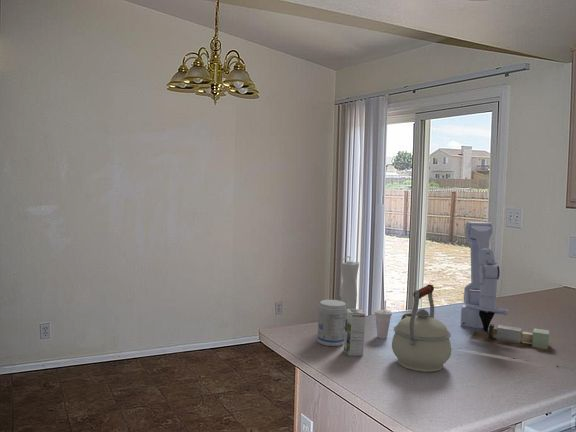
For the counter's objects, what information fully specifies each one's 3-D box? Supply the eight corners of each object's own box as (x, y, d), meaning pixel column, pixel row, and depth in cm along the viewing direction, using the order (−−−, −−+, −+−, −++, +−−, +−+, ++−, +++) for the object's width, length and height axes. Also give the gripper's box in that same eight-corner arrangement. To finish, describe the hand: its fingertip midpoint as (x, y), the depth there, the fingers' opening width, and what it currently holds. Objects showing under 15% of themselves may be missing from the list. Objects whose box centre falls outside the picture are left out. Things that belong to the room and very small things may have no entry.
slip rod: (488, 338, 187) (489, 326, 187) (490, 335, 191) (490, 324, 191) (536, 346, 180) (537, 334, 179) (537, 343, 183) (537, 331, 183)
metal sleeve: (496, 340, 186) (497, 327, 186) (497, 337, 190) (498, 324, 190) (520, 344, 182) (520, 331, 182) (521, 341, 186) (521, 328, 186)
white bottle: (335, 322, 206) (338, 255, 205) (355, 323, 206) (358, 256, 204) (337, 328, 198) (340, 258, 196) (357, 329, 197) (360, 259, 196)
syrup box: (343, 350, 171) (344, 308, 170) (360, 350, 171) (361, 308, 171) (346, 356, 165) (348, 312, 164) (363, 356, 166) (365, 313, 165)
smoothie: (390, 340, 184) (392, 303, 184) (373, 338, 186) (374, 301, 185) (390, 335, 191) (392, 299, 190) (373, 333, 192) (375, 298, 191)
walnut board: (469, 341, 187) (469, 338, 187) (474, 333, 198) (474, 331, 198) (550, 354, 174) (550, 352, 174) (551, 346, 185) (551, 343, 185)
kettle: (439, 381, 146) (444, 297, 144) (380, 367, 155) (384, 288, 154) (460, 358, 167) (464, 284, 165) (406, 347, 176) (410, 277, 175)
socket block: (532, 346, 180) (533, 331, 179) (533, 342, 185) (533, 328, 185) (547, 349, 177) (548, 334, 177) (548, 345, 182) (549, 330, 182)
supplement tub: (313, 339, 182) (315, 299, 181) (337, 338, 185) (339, 298, 184) (324, 348, 173) (325, 306, 172) (348, 346, 176) (350, 305, 175)
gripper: (466, 295, 189) (464, 330, 190) (507, 300, 182) (505, 337, 183) (469, 292, 195) (467, 326, 196) (509, 297, 188) (507, 332, 189)
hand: (485, 331), depth 190 cm, fingers closed
